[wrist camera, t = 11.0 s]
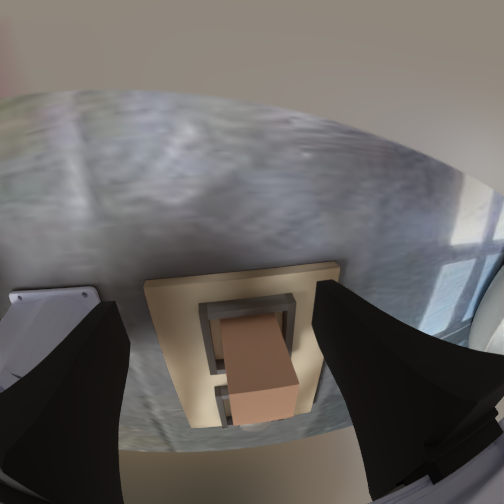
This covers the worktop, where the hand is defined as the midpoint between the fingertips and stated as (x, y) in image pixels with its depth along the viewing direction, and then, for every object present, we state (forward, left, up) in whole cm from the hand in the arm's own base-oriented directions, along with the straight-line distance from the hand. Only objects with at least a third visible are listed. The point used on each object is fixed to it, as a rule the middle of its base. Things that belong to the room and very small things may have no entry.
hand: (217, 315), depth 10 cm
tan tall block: (+2, -9, -8) cm, 12 cm away
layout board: (+2, -14, -9) cm, 17 cm away
